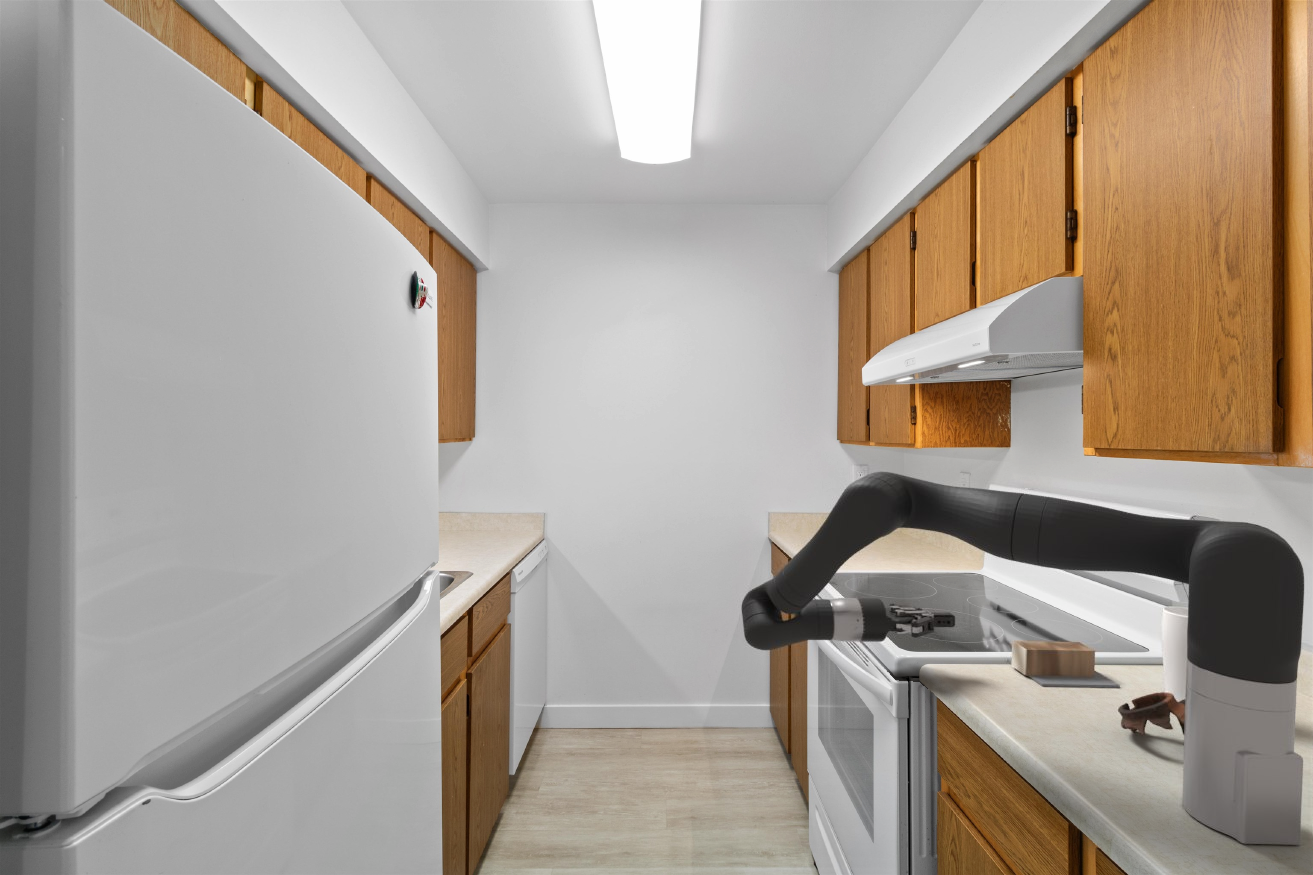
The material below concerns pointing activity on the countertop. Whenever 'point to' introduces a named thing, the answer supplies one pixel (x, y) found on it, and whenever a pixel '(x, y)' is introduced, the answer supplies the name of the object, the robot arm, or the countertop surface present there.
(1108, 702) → the countertop surface
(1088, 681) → the mat
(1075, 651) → the plain brown block
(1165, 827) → the countertop surface
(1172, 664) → the drinking glass
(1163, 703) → the brown jagged ring
